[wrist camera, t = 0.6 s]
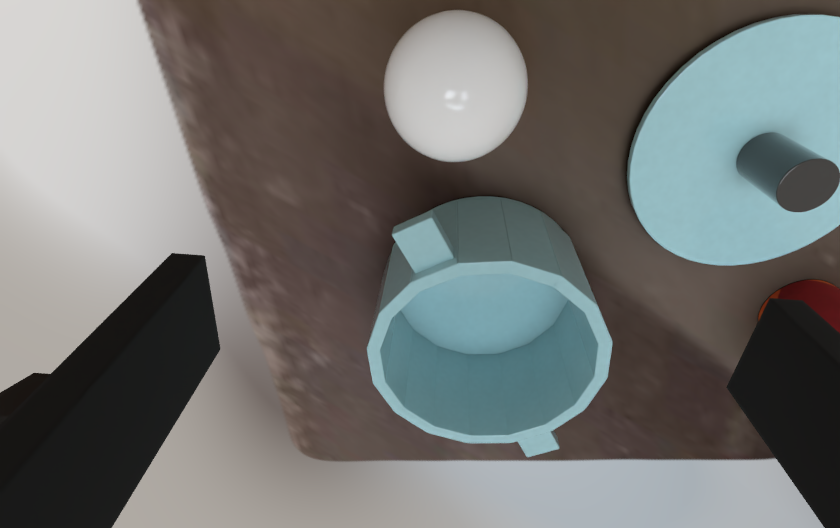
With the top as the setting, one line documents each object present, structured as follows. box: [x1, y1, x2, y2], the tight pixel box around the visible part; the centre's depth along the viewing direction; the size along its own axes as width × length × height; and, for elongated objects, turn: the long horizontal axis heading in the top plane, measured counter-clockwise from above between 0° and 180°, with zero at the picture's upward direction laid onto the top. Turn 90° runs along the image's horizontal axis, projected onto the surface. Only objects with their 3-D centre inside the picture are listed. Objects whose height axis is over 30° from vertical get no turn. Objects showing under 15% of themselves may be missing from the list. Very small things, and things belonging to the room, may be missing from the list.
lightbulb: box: [384, 10, 528, 162], centre depth 24 cm, size 6×6×11 cm
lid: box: [627, 14, 840, 265], centre depth 28 cm, size 15×15×6 cm
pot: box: [367, 196, 613, 457], centre depth 34 cm, size 14×20×8 cm
